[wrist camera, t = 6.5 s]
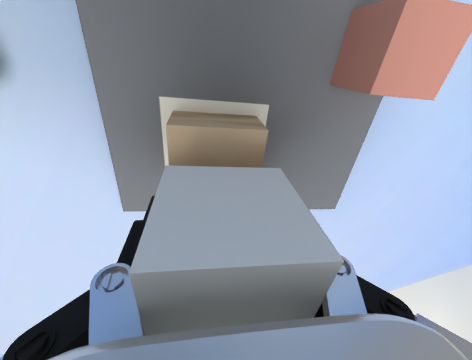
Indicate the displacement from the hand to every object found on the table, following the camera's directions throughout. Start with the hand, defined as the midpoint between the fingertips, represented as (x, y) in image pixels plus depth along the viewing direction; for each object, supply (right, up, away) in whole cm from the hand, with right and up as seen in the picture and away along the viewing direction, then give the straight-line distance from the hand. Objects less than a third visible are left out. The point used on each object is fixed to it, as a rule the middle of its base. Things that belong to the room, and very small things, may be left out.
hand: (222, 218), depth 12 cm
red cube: (+11, +12, +5) cm, 18 cm away
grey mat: (+2, +8, +6) cm, 11 cm away
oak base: (-1, +5, +8) cm, 9 cm away
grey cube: (0, 0, +1) cm, 1 cm away
